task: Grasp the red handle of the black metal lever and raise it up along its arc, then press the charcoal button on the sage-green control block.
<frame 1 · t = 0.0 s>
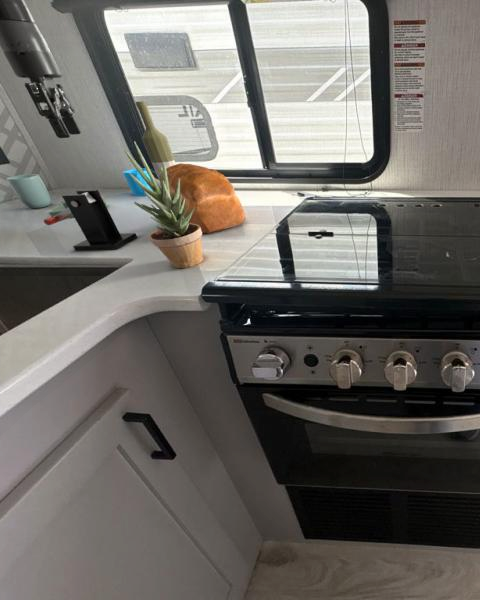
hand: (70, 136, 78), 24 cm above the countertop, tool pointing down, fingers open, 8 cm apart
bread: (207, 221, 98), on the countertop
lever: (71, 209, 79), point 9 cm above the countertop, hinge at -25.0°
mug: (146, 194, 126), on the countertop
potted plant: (188, 263, 73), on the countertop
button: (74, 198, 105), point 4 cm above the countertop, slide at 0.1 cm
cup: (41, 207, 114), on the countertop
bottle: (177, 197, 120), on the countertop
bracket: (107, 243, 84), on the countertop
button block: (81, 212, 107), on the countertop
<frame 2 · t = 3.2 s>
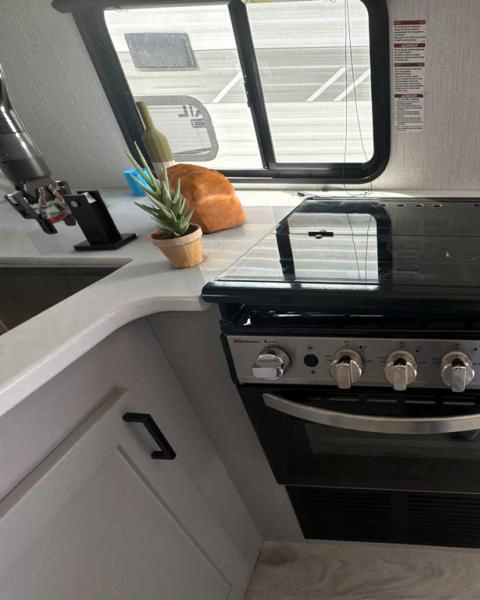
hand: (62, 229, 81), 4 cm above the countertop, tool pointing down, fingers closed on lever, 5 cm apart
lever: (71, 209, 79), point 9 cm above the countertop, hinge at -25.1°, touching gripper
everything else where it was.
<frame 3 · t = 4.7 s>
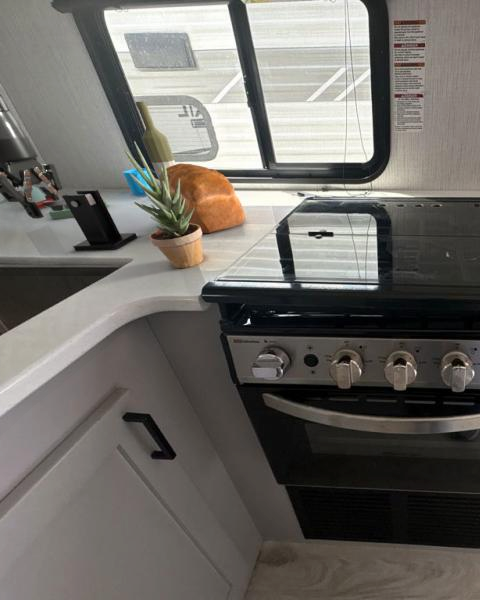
hand: (48, 213, 79), 8 cm above the countertop, tool pointing down, fingers closed on lever, 5 cm apart
lever: (65, 202, 78), point 11 cm above the countertop, hinge at -3.0°, touching gripper
everything else where it was.
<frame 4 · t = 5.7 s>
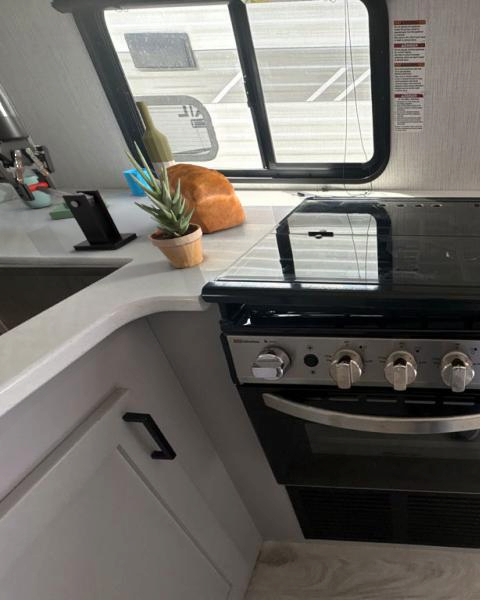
hand: (40, 196, 77), 12 cm above the countertop, tool pointing down, fingers closed on lever, 5 cm apart
lever: (61, 194, 77), point 13 cm above the countertop, hinge at 19.4°, touching gripper
everything else where it was.
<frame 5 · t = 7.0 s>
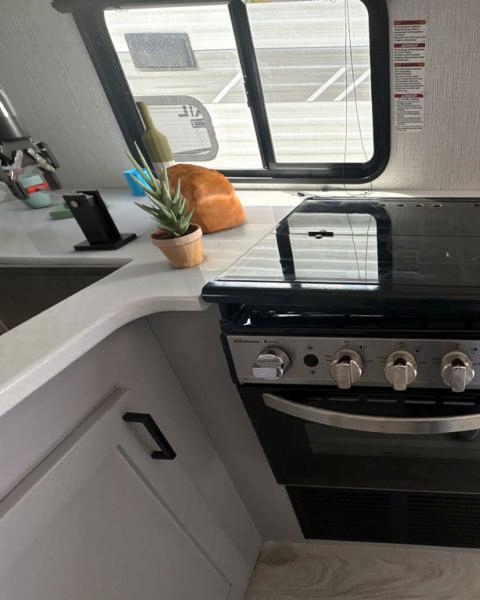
hand: (41, 194, 77), 13 cm above the countertop, tool pointing down, fingers open, 8 cm apart
lever: (62, 194, 77), point 12 cm above the countertop, hinge at 17.8°
everything else where it was.
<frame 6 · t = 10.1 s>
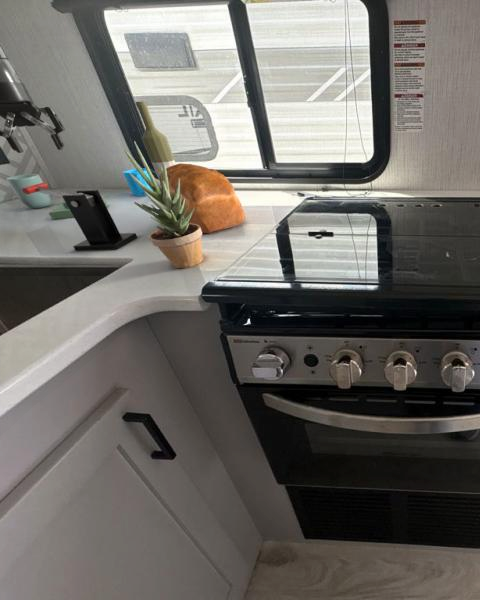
hand: (41, 150, 92), 19 cm above the countertop, tool pointing down, fingers open, 8 cm apart
nothing on the countertop moved.
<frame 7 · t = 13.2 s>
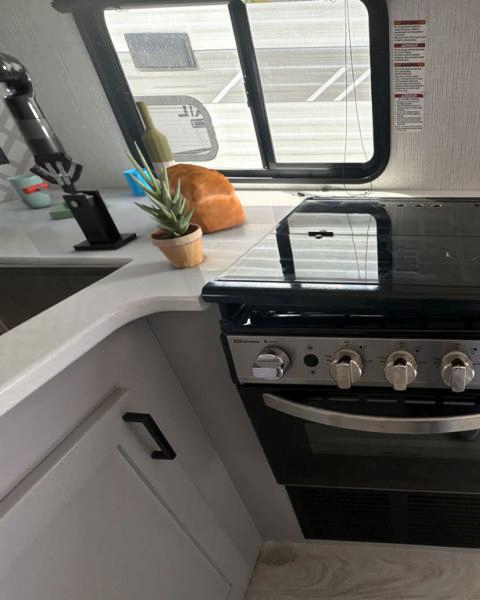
hand: (73, 196, 105), 5 cm above the countertop, tool pointing down, fingers closed
button: (74, 199, 105), point 4 cm above the countertop, slide at -0.2 cm, touching gripper
everything else where it was.
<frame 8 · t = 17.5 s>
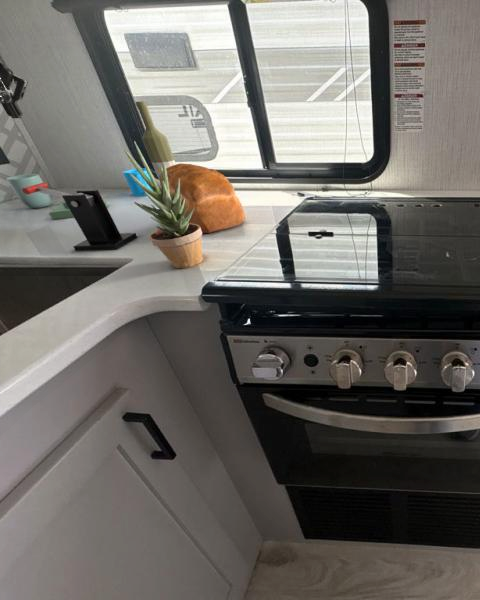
hand: (17, 118, 94), 27 cm above the countertop, tool pointing down, fingers closed
button: (74, 198, 105), point 4 cm above the countertop, slide at 0.1 cm
everything else where it was.
at the end: lever at +18° (first picture: -25°); button pushed in 1.1 cm at the most during the clip, back to where it started at the end; button slide at 0.1 cm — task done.
